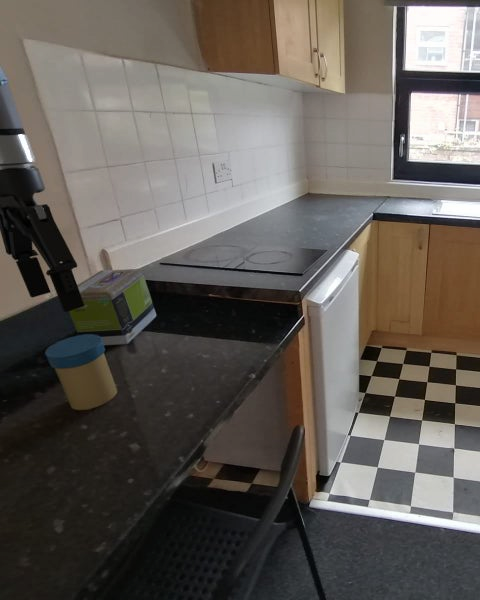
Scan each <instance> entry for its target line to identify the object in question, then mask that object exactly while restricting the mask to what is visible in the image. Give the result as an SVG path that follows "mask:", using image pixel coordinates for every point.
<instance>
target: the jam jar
mask: <svg viewBox="0 0 480 600" xmlns="http://www.w3.org/2000/svg"><path fill="white" fill-rule="evenodd" d="M53 369H54V372H55V374H56V376H57V378H58V381H59V383H60V385H61V388H62V390H63V392H64V395H65V398H66V399H67V402H68V404H69V406H70V408H71V409H73V410H75V411H86V410H91V409H95V408H98V407H101V406H104V405H105V404H106V403H108V402H110V401H111V400H112V399H114V398H115V397H116V396H117V393H118V388H117V385H116V382H115V380H114V376H113V374H112V371H111V368H110V365H109V363H108V360H107V358H106V354H105V352H104V353H103V354H102V355H101V356H100V357H98V358H97V359H95V360H93V361H91V362H89V363H86V364H83V365H80V366H77V367H72V368H65V369H57V368H53Z"/></svg>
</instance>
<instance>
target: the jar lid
mask: <svg viewBox="0 0 480 600" xmlns="http://www.w3.org/2000/svg"><path fill="white" fill-rule="evenodd" d="M105 352H106V347H105V345H103V342H102V339H101V337H100V336H98V335H93V334H86V335H75V336H70V337H68V338H64V339H62V340H59V341H57V342H54V343H53V344H52V345H50V346H49V347H48V348H47V349H46V350H45V352H44V354H45V357H46V360H47V362H48V364H49V366H50V367H51V368H53V369H54V368H57V369H65V368H72V367H77V366H80V365H83V364H86V363H89V362H91V361H93V360H95V359H97V358H98V357H100V356H101V355H102V354H103V353H104V354H105Z"/></svg>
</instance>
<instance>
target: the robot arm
mask: <svg viewBox="0 0 480 600" xmlns="http://www.w3.org/2000/svg"><path fill="white" fill-rule="evenodd" d="M36 161H37V160H36V157H35V154H34V151H33V149H32V145H31V143H30V140H29V137H28V135H27V133H26V132H25V129H24V125H23V122H22V120H21V117H20V114H19V111H18V108H17V105H16V102H15V100H14V96H13V94H12V91H11V88H10V84H9V79H8V76H6V74H5V73H4V71H3V68H2V66H1V65H0V235H1V239H2V242H3V245H4V249H5V253H6V254H7V255H8V256H11V258H12V259H13V260H14V261H15V263H16V266H17V269H18V271H19V273H20V276H21V277H22V280H23V282H24V284H25V287H26V289H27V292H28V294H29V297H30V298H36V297H40V296H43V295H46V294H50V293H52V292H51V289H50V286H49V284H48V281H47V278H46V275H47V276H49V277H50V280H51V282H52V285H53V288H54V291H55V293H56V295H57V298H58V301H59V303H60V305H61V308H62V311H63V313H69V311H71V310H74V309H77V308H80V307H83V306H85V305H84V303H83V300H82V297H81V294H80V292H79V289H78V286H77V285H78V284H77V280H76V278H75V275H74V272H73V269H75V268H78V263H77V261H76V260H75V258H74V256H73V253H72V252H71V250H70V248H69V245H68V244H67V243H66V240H65V238H64V237H63V234H62V233H61V230H60V229H59V227H58V225H57V223H56V221H55V219H54V216H53V213H52V211H51V207H50V206H49V205H48V204H47V203H45V204H44V203H43V204H38V202H37V200H36V198H35V196H34V195H35V194H39V193H42V192H44V191H45V190H46V185H45V183H44V181H43V178H42V175H41V172H40V169H39V168H37V166H34V165H33V164H35V162H36ZM33 245H34V247H35V249H34V248H33ZM37 251H38V252H37ZM39 254H40V256H41V258H42V259H43V261H44V263H45V264H46V265H47V267H48V268H49V269H47V270H46V272H45V274H46V275H45V274H44V271H43V269H42V267H41V263H40V261H39V259H38V257H37V256H39Z"/></svg>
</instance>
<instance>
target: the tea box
mask: <svg viewBox="0 0 480 600" xmlns="http://www.w3.org/2000/svg"><path fill="white" fill-rule="evenodd" d="M144 274H145V273H144V272H143V269H142V268H128V269H107V270H106V269H105V270H103V269H102V270H99V271H98V272H96V273H95V274H93V275H92V276H90V277H88V278H87V279H85V280H83V281H82V282H80V283H79V284H77V286H78V289H79V292H80V294H81V297H82V300H83V303H84V305H85V306H83V307H80V308H77V309H74V310H71V311H68V313H69V315H70V318H71V320H72V322H73V324H74V327H75V330H76V332H77V334H78V335H77V336H79V335H86V334H93V335H98V336H100V337H101V339H102V342H103V345H104V346H116V345H117V346H118V345H127V344H129V343H130V342H131V341H132V340H133V339H134V338H136V336H138V335H139V334H140V333H141V332H142V331H143V330H144V329H145V328H146V327H147V326H148V325H149V324H150V323H152V321H154V319H155V318H157V313H156V308H155V307H154V303H153V299H152V296H151V293H150V289H149V287H148V284H147V281H146V278H145V275H144Z"/></svg>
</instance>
